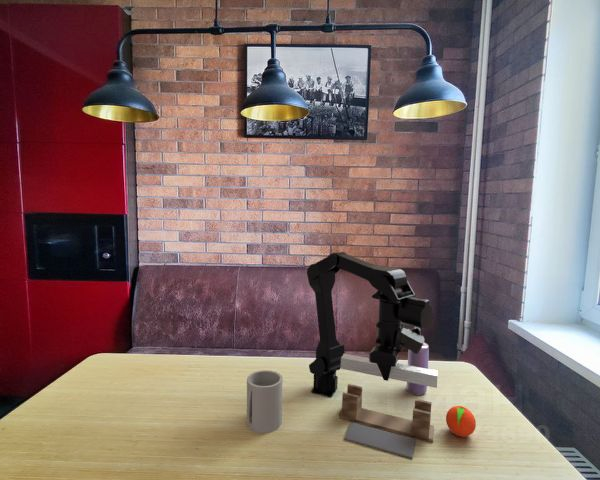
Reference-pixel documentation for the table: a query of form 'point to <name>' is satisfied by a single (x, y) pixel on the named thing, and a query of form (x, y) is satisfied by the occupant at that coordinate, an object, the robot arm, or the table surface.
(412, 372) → the rail
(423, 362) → the beverage can
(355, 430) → the mat
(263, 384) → the cup
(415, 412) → the rack
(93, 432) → the table surface
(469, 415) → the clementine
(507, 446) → the table surface
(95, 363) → the table surface
